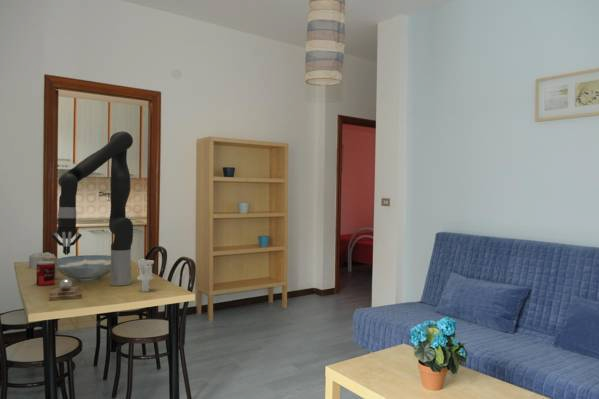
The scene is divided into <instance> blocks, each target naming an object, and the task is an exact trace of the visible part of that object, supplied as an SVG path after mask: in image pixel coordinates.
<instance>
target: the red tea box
mask: <svg viewBox="0 0 599 399" xmlns="http://www.w3.org/2000/svg"><path fill="white" fill-rule="evenodd" d="M42 261H54V262H55V280H56V279H57V278H56V277H57V274H58V268H57V269H56V266H57V267H58V257H57V256H45V257H43V259H42Z"/></svg>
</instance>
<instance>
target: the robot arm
mask: <svg viewBox="0 0 599 399" xmlns="http://www.w3.org/2000/svg"><path fill="white" fill-rule="evenodd" d="M133 142H134V140H133V136H132V135H131V134H130V133H129V132H127V131H123V130H122V131H117V132H115V133H113V134H112V135H111V136H110V139H109V142H107V144H106V145H104V146H103V147H102V148H100V149H98V150H97V151H95V152H93V153H91V154H90V155H89V156H87V157H86V158H84V159H83V160H81V161H80V162H79V163H77V164H76V165H75V166H74V167H73V168H70V169H69V170H68V171H66V172H64V173H63V174H62V175H60V177H58V185H59V187H60V195H59V198H58V212H57V229H56V232H54V233H52V234H51V238H53V240H54V241H55V242H56V243H57V245H58V246H60V247H61V246H62V253H63V254H64V255H65V256H66V255H67V256H68V255H69V254H70V253H71V246H74V245H76V243H78V241H79V239H81V238H82V234H81V233H80V232H78V230H77V194H78V192H77V191H78V186H79V185H78V183H80V181H82V180H83V179H85V178H87V177H89V176H90V175H91V174H92V173H94V172H95V171H97V170H98V169H99V168H100V167H101V166H103V165H104V164H105V163H107V162H108V161H109V160H110V161H111V162H110V214H109V221H108V222H109V223H108V228H109V231H110V232H111V234H112V235H113V242H112V243H111V244H110V281H109V282H110V286H114V287H115V286H117V287H119V286H121V287H123V286H128V285H132V265H131V263H132V262H131V261H132V260H131V259H132V258H131V257H132V256H131V254H132V244H133V239H134V238H133V237H134V225H133V222H132V220H131V219H130V218H128V217H126V215H127V214H126V207H127V203H128V200H129V196H130V193H131V174H130V169H129V167H128V163H127V157H128V156H127V154H128V149H130V148H131V147H132V145H133ZM58 237H60V239H62V241H61V240H60V239H59V238H58ZM74 237H75V238H74ZM73 238H74V239H73ZM72 239H73V241H72Z"/></svg>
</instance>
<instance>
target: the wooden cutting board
mask: <svg viewBox="0 0 599 399" xmlns="http://www.w3.org/2000/svg"><path fill="white" fill-rule="evenodd" d="M77 299H82V288H81V286H79V285H78V286H72V287H71V288H70V289H68V290H63V289H61V288H60V287H51V288H50V292H49V298H48V300H49V301H50V302H53V301H63V300H64V301H65V300H77Z"/></svg>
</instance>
